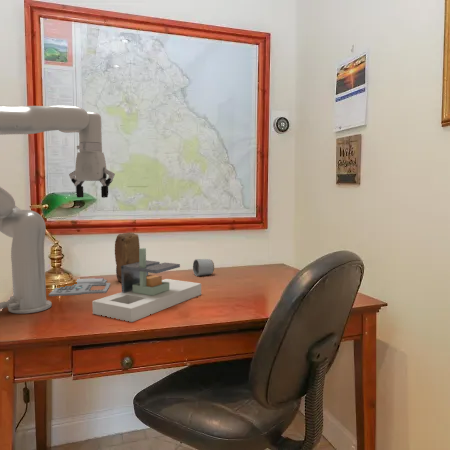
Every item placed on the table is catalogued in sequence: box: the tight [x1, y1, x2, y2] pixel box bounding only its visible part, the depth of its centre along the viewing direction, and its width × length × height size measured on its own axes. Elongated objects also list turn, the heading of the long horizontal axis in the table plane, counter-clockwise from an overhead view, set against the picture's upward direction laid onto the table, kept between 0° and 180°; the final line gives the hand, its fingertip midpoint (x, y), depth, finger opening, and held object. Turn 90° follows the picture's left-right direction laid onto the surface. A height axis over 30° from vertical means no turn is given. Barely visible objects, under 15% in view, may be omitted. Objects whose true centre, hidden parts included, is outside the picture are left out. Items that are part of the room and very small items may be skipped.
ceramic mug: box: [192, 258, 215, 277], centre depth 184 cm, size 10×8×7 cm
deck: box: [92, 278, 202, 323], centre depth 137 cm, size 36×16×4 cm, turn 149°
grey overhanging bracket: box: [121, 259, 181, 293], centre depth 137 cm, size 12×15×9 cm
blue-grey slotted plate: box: [48, 277, 111, 297], centre depth 160 cm, size 23×3×20 cm
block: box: [114, 232, 141, 283], centre depth 169 cm, size 11×8×20 cm
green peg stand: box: [133, 247, 170, 295], centre depth 136 cm, size 9×9×15 cm
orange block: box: [146, 274, 163, 287], centre depth 137 cm, size 5×5×5 cm
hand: (92, 197), depth 146 cm, fingers open, 9 cm apart
